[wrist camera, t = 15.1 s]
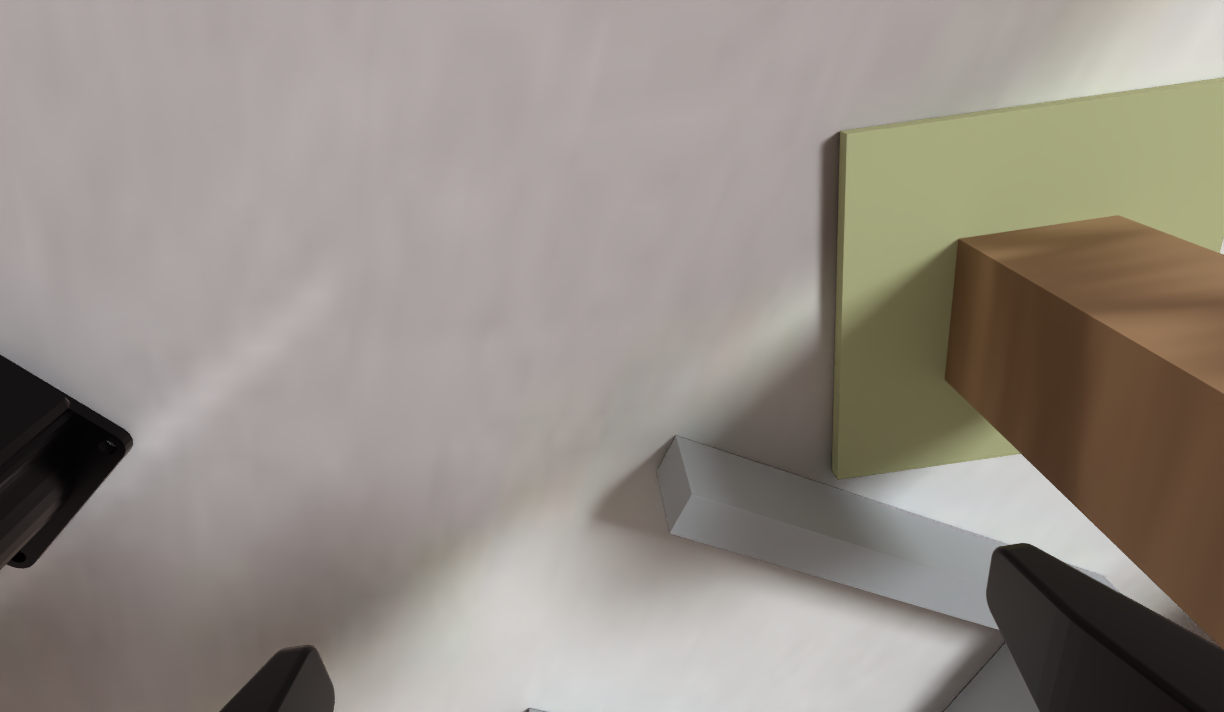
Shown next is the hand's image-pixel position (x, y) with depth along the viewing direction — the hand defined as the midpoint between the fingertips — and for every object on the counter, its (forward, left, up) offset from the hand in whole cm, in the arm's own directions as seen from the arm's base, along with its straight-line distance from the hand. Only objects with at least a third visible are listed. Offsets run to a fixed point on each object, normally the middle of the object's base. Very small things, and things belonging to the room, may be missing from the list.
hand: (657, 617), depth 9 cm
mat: (+8, -9, -12) cm, 17 cm away
